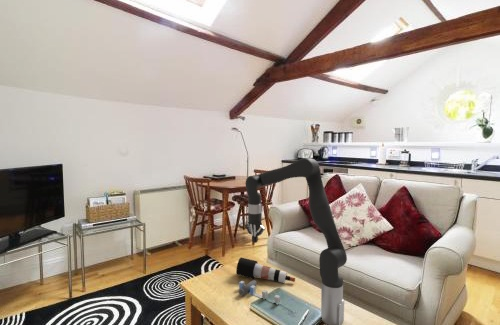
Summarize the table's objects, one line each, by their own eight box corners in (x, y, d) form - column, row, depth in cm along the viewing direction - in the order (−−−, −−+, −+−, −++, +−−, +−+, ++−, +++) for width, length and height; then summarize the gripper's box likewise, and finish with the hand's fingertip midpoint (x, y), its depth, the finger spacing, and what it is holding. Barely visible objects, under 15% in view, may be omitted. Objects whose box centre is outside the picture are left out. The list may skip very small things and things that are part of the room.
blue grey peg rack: (280, 303, 135) (280, 296, 134) (277, 305, 133) (277, 298, 132) (241, 287, 149) (241, 280, 149) (239, 289, 148) (239, 282, 147)
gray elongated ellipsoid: (252, 283, 152) (253, 278, 152) (257, 286, 150) (258, 280, 149) (237, 294, 142) (237, 288, 141) (242, 297, 139) (242, 291, 139)
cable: (292, 293, 152) (293, 282, 146) (237, 278, 162) (235, 267, 156) (296, 277, 160) (296, 267, 154) (242, 264, 170) (241, 253, 164)
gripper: (268, 212, 147) (268, 243, 148) (249, 208, 155) (249, 237, 156) (260, 215, 141) (260, 247, 142) (241, 211, 149) (241, 241, 150)
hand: (254, 242), depth 149 cm, fingers closed
